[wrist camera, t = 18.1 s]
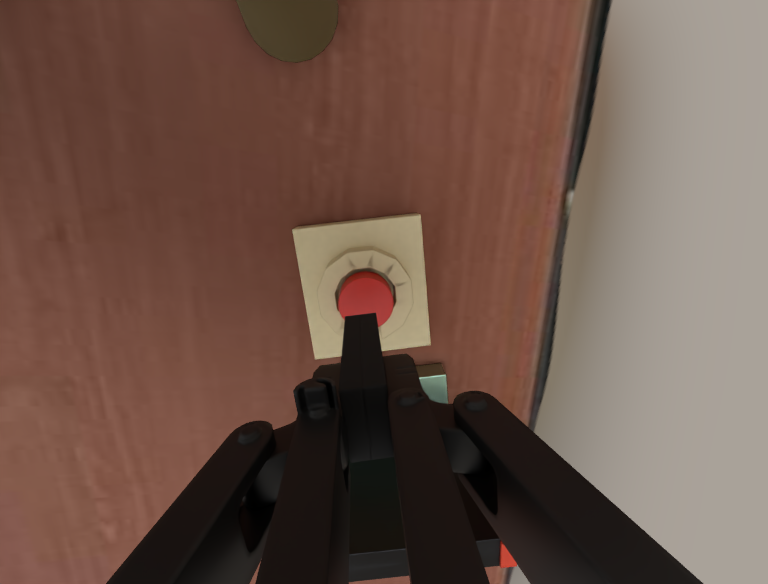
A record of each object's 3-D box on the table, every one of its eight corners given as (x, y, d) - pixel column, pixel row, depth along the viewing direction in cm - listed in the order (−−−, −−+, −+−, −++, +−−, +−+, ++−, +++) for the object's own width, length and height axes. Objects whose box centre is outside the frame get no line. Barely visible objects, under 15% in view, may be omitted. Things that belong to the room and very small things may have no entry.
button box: (295, 226, 27) (286, 232, 24) (417, 212, 27) (425, 216, 24) (317, 350, 30) (312, 371, 26) (427, 336, 30) (435, 355, 27)
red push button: (336, 274, 25) (334, 281, 23) (388, 268, 25) (390, 274, 23) (343, 323, 26) (342, 333, 24) (393, 317, 26) (396, 326, 24)
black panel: (309, 475, 31) (289, 593, 22) (306, 453, 30) (284, 565, 21) (474, 459, 31) (519, 567, 22) (475, 437, 31) (521, 540, 22)
